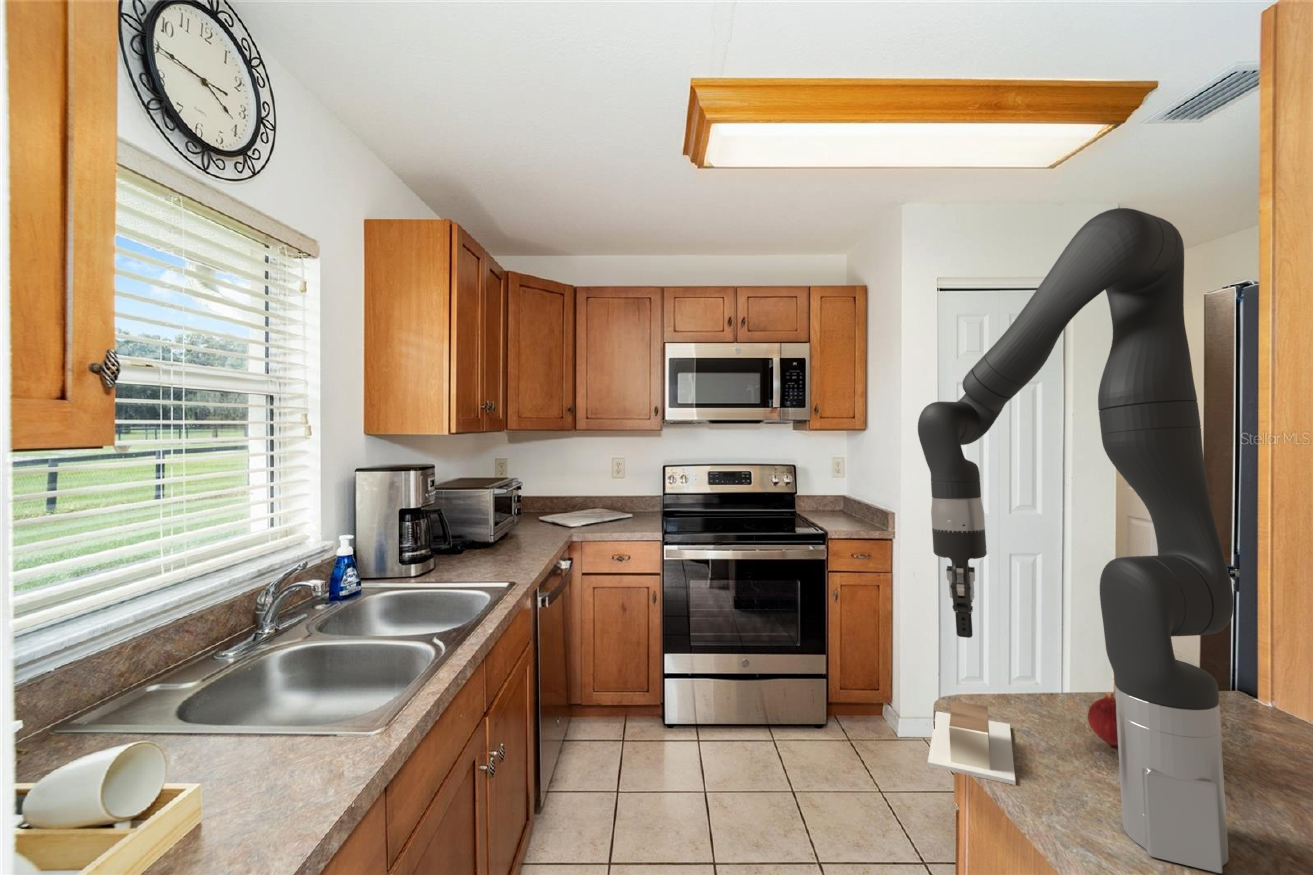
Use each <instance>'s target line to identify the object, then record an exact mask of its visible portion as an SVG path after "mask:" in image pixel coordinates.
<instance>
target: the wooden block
mask: <svg viewBox="0 0 1313 875" xmlns="http://www.w3.org/2000/svg"><path fill="white" fill-rule="evenodd" d="M988 708H989V706H987V705H981V704H977V703H976V704H975V703H970V702H964V701H958V700H951V708H950V714H951V715H950V724H949V735H950V754H951V762H954V763H959V764H964V765H968V766H973V767H978V768H983V769H988V770H990V747H989V723H988V720H989V709H988Z"/></svg>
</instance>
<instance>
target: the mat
mask: <svg viewBox="0 0 1313 875" xmlns="http://www.w3.org/2000/svg"><path fill="white" fill-rule="evenodd" d="M950 715H951V713H948V712H947V713H946V712H941V711H935V717H934V721H935V729H934V726H933V727H932V734H931V740H930V746H929V752H928V757H927V767H930V768H935V769H939V770H944V771H949V772H952V773H957V774H963V775H967V776H972V777H977V778H982V779H984V780H991V781H995V782H999V783H1000V782H1001V783H1004V784H1007V785H1008V784H1010V785H1014V786H1016V774H1015V773H1016V772H1015V765H1014V754H1013V744H1012V742H1013V741H1012V734H1011V724H1010V723H1006V722H1001V721H1000V722H999V721H994V720H989V719H988V723H989V747H990V770H988V769H983V768H978V767H973V766H968V765H964V764H959V763H954V762H951V754H950V735H949V724H950Z"/></svg>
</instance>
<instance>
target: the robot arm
mask: <svg viewBox="0 0 1313 875" xmlns="http://www.w3.org/2000/svg"><path fill="white" fill-rule="evenodd" d="M1184 279H1185V246H1184V241H1183V238H1182V235H1181V232H1180V230H1178V228H1177V227H1176V226H1175V225H1174V224H1173V223H1171V222H1170V221H1168V220H1166V219H1164V218H1163V217H1158V216H1156V215H1153V214H1151V213H1147V212H1145V211H1140V210H1137V209H1135V208H1134V209H1133V208H1128V207H1117V208H1112V209H1108V210H1105V211H1103V212H1100V213H1098V214H1097V215H1095V216H1093V217H1092V218H1091V219H1089V220H1088V221H1086V223H1085V224H1083V226H1081V228H1080V229H1078V231H1077V232H1076V233H1075V235H1074V236H1073V237H1072V238H1071V240H1070V241H1069V243H1067V245H1066V246H1065V248H1064V250H1063V251H1062V252H1061V254H1060V255H1059V257H1058V259H1057V260H1056V261H1055V263H1054V264H1053V266H1052V267H1051V269H1050V270H1049V272H1048V273H1047V275H1046V276H1045V278H1044V279H1043V281H1042V282H1041V283H1040V285H1039V286H1038V288H1037V289H1036V290H1035V292H1034V293H1033V295H1032V296H1031V298H1030V299H1029V300H1028V301H1027V303H1026V305H1025V306H1024V307H1023V309H1022V310H1021V311H1020V312H1019V314H1018V315H1017V316H1016V318H1015V319H1014V321H1013V322H1012V323H1011V325H1010V326H1009V327H1008V328H1007V329H1006V331H1005V332H1004V333H1003V334H1002V335H1001V336H1000V338H999V339H998V340H997V341H996V342H995V343H994V345H992V346H991V347H990V349H988V350H987V352H986V353H984V355H983V356H982V357H981V358H980V359H979V360H978V361H977V362H976V363H975V364H974V366H973V367H971V369H970V370H969V371H968V372H967V373H966V375H965V376H964V377H963V380H962V390H963V391H964V394H963V396H961V398H960V399H959V400H958V401H934V402H931V403H930V404H927V405H926V406H925V407H924V408H923V409H922V411H920V414H919V417H918V422H917V434H918V438H919V443H920V445H921V449H922V452H923V455H924V459H925V462H926V465H927V467H928V470H929V472H930V486H931V510H930V515H931V532H932V549H933V553H934V555H936V557H939V558H944V559H945V558H948V559H950V561H951V565H947V566H946V569H945V570H946V580H947V581H948V590H949V597H950V598H951V599H952V610H953V611H954V613H955V614H954V615H955V626H956V627H955V628H956V635H957V636H958V637H959V638H968V639H969V638H970V639H971V638H972V637H973V620H972V619H973V618H972V614H973V611H974V608H973V607H974V606H973V605H972V603H973V600H975V582H976V572H975V571H976V569H975V566H970V564H969V560H972V559H973V560H976V559H981V558H985V557H986V556H987V554H988V552H987V536H986V526H985V524H986V522H985V513H984V511H985V510H984V506H983V502H982V500H983V499H982V493H981V492H982V491H981V490H982V489H981V475H980V470H979V467H978V465H977V463H975V462H974V461H972V460H968V459H966V457H965V455H964V451H963V448H962V446H966V445H969V444H972V443H975V442H976V441H978V440H979V439H980V438H982V437H983V436H984V435H985V434H987V432H988V431H989V430H990V429H991V427H992V426H993V424H994V423H995V422H996V420H997V418H998V417H999V415H1000V414H1001V413H1002V411H1003V409H1004V407H1005V405H1006V404H1007V403H1008V402H1009V401H1010V400H1011V399H1013V397H1014V396H1015V395H1017V394H1018V393H1019V392H1020V391H1021V390H1022V389H1023V388H1024V387H1026V385H1027V384H1028V383H1029V382H1030V381H1031V380H1032V379H1033V378H1034V377H1035V376H1036V375H1037V374H1038V373H1039V371H1041V369H1042V368H1043V366H1044V365H1045V363H1046V362H1047V361H1048V359H1049V357H1050V355H1051V353H1052V351H1053V350H1054V348H1055V345H1056V343H1057V341H1058V339H1059V337H1060V336H1061V334H1062V333H1063V331H1064V330H1065V329H1066V327H1067V325H1068V324H1069V323H1070V322H1071V320H1072V319H1074V317H1075V316H1076V315H1077V314H1078V313H1079V312H1080V311H1081V310H1082V309H1083V308H1084V307H1085V306H1087V305H1088V304H1089V303H1090V302H1091V301H1092V300H1093V299H1095V298H1096V297H1098V296H1099V295H1100V294H1101V293H1102V292H1104V291H1105V292H1106V296H1107V300H1108V305H1109V311H1110V312H1109V313H1110V317H1111V323H1112V324H1111V325H1112V339H1111V346H1110V350H1109V353H1108V354H1109V355H1108V357H1107V360H1106V363H1105V366H1104V369H1103V372H1102V376H1101V379H1100V382H1099V387H1098V393H1097V408H1098V409H1097V411H1098V417H1099V424H1100V425H1099V426H1100V427H1099V428H1100V435H1101V441H1102V446H1103V450H1104V451H1105V454H1106V455H1107V458H1108V459H1109V460H1110V462H1111V463H1112V464H1113V466H1114V467H1115V470H1117V471H1118V473H1119V474H1120V475H1121V476H1122V478H1123V479H1124V480H1125V481H1126V482H1127V484H1128V485H1129V486H1130V487H1131V489H1133V491H1134V492H1135V493H1136V494H1137V496H1138V497H1139V498H1140V500H1141V501H1142V502H1143V504H1144V506H1145V507H1146V509H1147V511H1148V513H1149V515H1150V518H1151V521H1152V525H1153V528H1154V534H1155V539H1156V547H1157V555H1137V556H1121V557H1117V558H1114V559H1112V560H1110V561H1108V563H1107V564H1105V566H1104V568H1103V569H1102V571H1101V574H1100V575H1101V576H1100V579H1099V601H1100V610H1101V616H1102V624H1103V635H1104V643H1105V650H1106V655H1107V658H1108V660H1109V664H1110V667H1111V670H1112V672H1113V676H1114V678H1113V680H1114V697H1115V699H1116V717H1117V734H1118V745H1117V750H1118V752H1117V753H1118V764H1119V765H1118V766H1119V782H1120V783H1119V784H1120V785H1119V786H1120V799H1121V815H1122V816H1121V817H1122V827H1123V830H1124V832H1125V833H1126V834H1127V835H1128V837H1130V838H1129V839H1131V840H1132V841H1134V842H1135V843H1136V844H1138V845H1139V846H1141V847H1142V848H1143V849H1144V850H1145V851H1146V852H1147V854H1148V856H1150V857H1152V858H1155V859H1160V860H1164V861H1168V862H1171V863H1177V864H1181V865H1185V866H1188V867H1192V868H1196V869H1201V870H1205V871H1209V872H1213V873H1218V874H1223V872H1224V871H1223V867H1224V865H1225V866H1226V864H1227V863H1228V862H1229V857H1230V856H1229V842H1228V840H1229V839H1228V827H1227V826H1228V824H1227V813H1226V798H1225V797H1226V796H1225V781H1224V765H1223V761H1224V760H1223V749H1222V731H1221V729H1222V728H1221V726H1222V725H1221V715H1220V714H1221V713H1220V710H1221V709H1220V696H1219V694H1220V693H1219V685H1218V682H1217V680H1216V679H1215V677H1214V676H1213V675H1212V674H1211V673H1210V672H1208V671H1206V670H1205V669H1203V668H1201V667H1198V666H1197V665H1194V664H1192V663H1188V662H1186V661H1183V660H1179V659H1176V656H1175V653H1174V648H1173V642H1172V640H1173V639H1172V637H1191V636H1207V635H1208V636H1209V635H1214V634H1218V633H1221V632H1222V631H1224V630H1225V629H1226V627H1228V625H1229V624H1230V622H1231V621H1232V620H1231V619H1232V618H1233V615H1234V603H1235V602H1234V593H1233V591H1234V590H1233V586H1232V581H1231V577H1230V574H1229V569H1228V566H1227V561H1226V558H1225V554H1224V550H1223V547H1222V543H1221V540H1220V535H1219V531H1218V527H1217V524H1216V520H1215V515H1214V511H1213V506H1212V501H1211V494H1210V490H1209V483H1208V478H1207V471H1206V465H1205V458H1204V450H1203V439H1202V428H1201V427H1202V425H1201V419H1200V418H1201V417H1200V411H1199V404H1198V397H1197V391H1196V387H1195V382H1194V375H1193V373H1194V372H1193V367H1192V365H1193V364H1192V358H1191V354H1190V353H1191V352H1190V347H1189V341H1188V336H1187V335H1188V334H1187V330H1186V323H1185V311H1184V308H1185V306H1184V304H1185V303H1184V302H1185V301H1184V300H1185V299H1184V298H1185V297H1184V296H1185V293H1184V290H1185V287H1184V285H1185V282H1184V281H1185V280H1184Z"/></svg>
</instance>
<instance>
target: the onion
mask: <svg viewBox="0 0 1313 875" xmlns="http://www.w3.org/2000/svg"><path fill="white" fill-rule="evenodd" d="M1087 721H1088V723H1089V724H1088V725H1089V726H1090V728H1091V729H1092V730H1093V732H1094V733H1095V735H1097V736H1098V738H1100V739H1102V740H1103V741H1104V742H1105V743H1106V744H1108V745H1109V746H1112V747H1116V746H1117V747H1118V734H1117V717H1116V697H1115V693H1114V694H1113V693H1112V692H1109V691H1108V692H1106V693H1105V696H1104V697H1103V698H1100V699H1097V700H1096V701H1094V702H1093V703H1092V704H1091V705H1090V707H1089V709H1088V712H1087Z"/></svg>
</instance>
